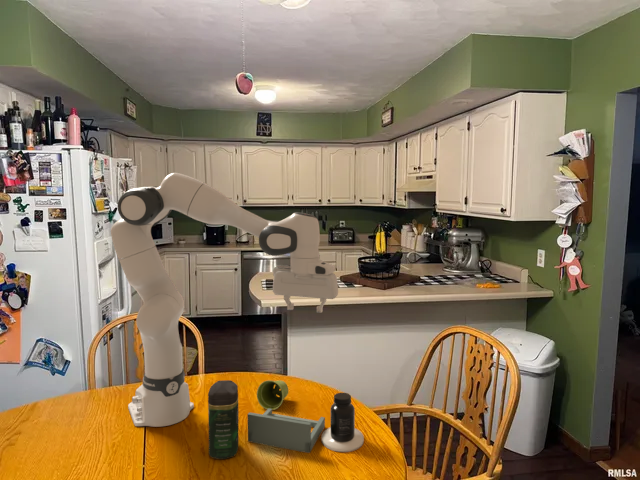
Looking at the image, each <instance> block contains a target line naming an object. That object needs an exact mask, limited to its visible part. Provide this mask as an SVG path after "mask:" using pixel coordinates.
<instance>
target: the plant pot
mask: <svg viewBox="0 0 640 480" xmlns="http://www.w3.org/2000/svg"><path fill="white" fill-rule="evenodd" d="M257 387H258V388H257V391H256V398H257V402H258V404H259V405H260V406H261V407H262V408H264V409H265V410H267V409H268V408H270V409H272V411H274V410H277V409H279V407H281V406H282V404H283V402H284V400H285V398H286V397H287V396H288V394H289V387H288V384H287V383H286V382H285V381H284V380H281V379H280V380H279V379H278V380H270V379H269V380H268V379H267V380H265V381H262V382H261V383H260V384H259V386H257Z"/></svg>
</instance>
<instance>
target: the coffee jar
mask: <svg viewBox="0 0 640 480" xmlns="http://www.w3.org/2000/svg"><path fill="white" fill-rule="evenodd" d="M207 397H208V398H207V403H208V405H207V407H208V408H207V410H208V411H207V412H208V413H207V414H208V455H209V457H211V458H212V459H217V460H226V459H230V458H232V457H234V456H236V454H237V453H238V449H239V419H240V418H239V412H240V411H239V386H238V384H237V383H236V382H234V381H233V380H230V379H229V380H217V381H216V382H214V383H213V384H212V385H211V386H210V388H209V391H208V394H207Z"/></svg>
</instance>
